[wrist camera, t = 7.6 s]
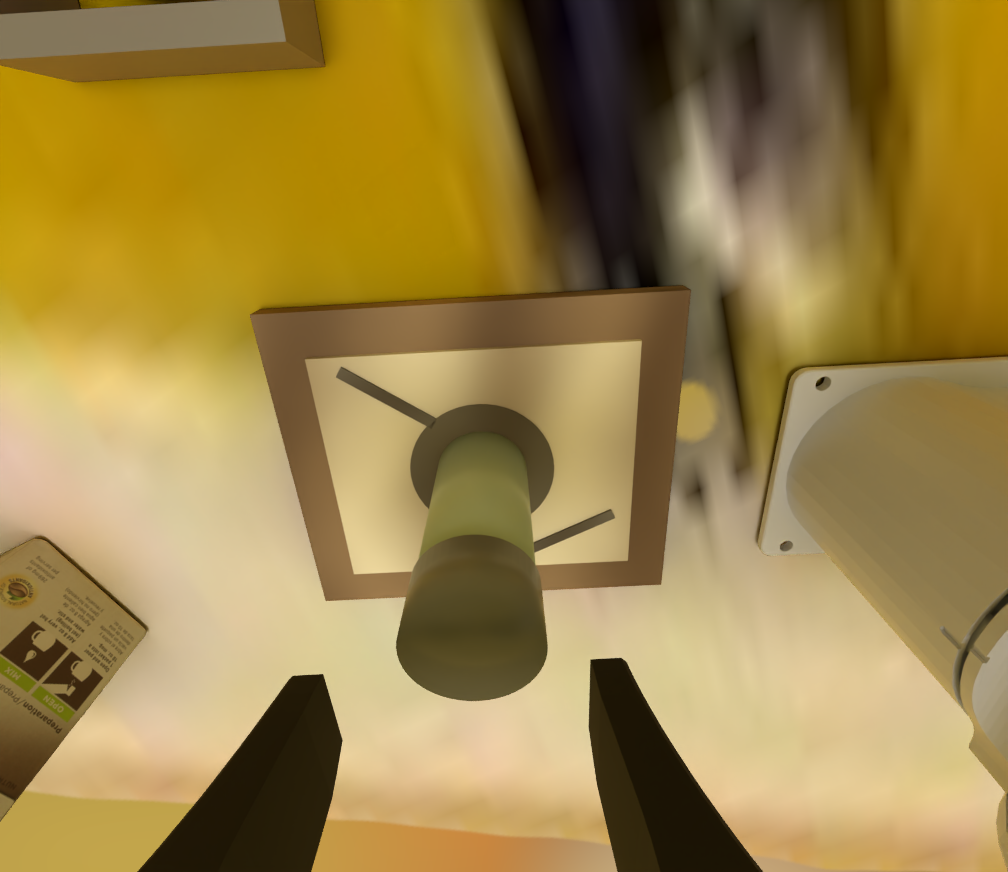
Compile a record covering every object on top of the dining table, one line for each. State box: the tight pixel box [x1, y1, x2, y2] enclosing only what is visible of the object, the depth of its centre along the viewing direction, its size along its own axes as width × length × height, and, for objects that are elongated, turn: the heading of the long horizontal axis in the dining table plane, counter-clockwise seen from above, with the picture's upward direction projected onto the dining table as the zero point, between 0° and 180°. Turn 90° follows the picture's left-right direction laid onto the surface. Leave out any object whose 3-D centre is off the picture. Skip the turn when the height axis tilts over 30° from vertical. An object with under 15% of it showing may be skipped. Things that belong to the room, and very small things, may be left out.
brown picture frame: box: [250, 285, 691, 601], centre depth 20 cm, size 14×12×1 cm
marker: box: [396, 431, 547, 701], centre depth 15 cm, size 3×3×8 cm
